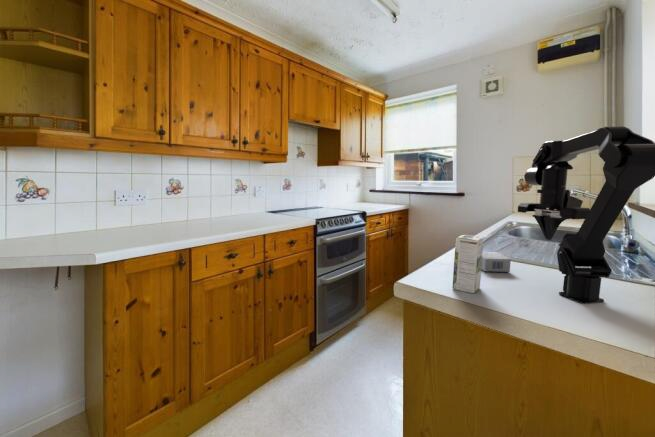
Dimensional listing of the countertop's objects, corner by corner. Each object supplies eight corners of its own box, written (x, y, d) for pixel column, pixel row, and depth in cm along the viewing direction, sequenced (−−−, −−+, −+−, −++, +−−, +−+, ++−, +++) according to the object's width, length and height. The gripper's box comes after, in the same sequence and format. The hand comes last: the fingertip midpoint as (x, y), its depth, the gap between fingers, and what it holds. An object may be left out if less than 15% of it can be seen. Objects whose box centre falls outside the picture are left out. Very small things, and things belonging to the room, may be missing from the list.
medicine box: (510, 272, 96) (497, 264, 105) (511, 258, 96) (498, 252, 104) (484, 271, 97) (474, 264, 106) (485, 258, 96) (474, 251, 105)
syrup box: (458, 283, 87) (460, 233, 85) (480, 288, 83) (484, 236, 82) (452, 289, 83) (454, 237, 81) (475, 294, 79) (478, 239, 77)
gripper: (612, 186, 79) (605, 245, 81) (548, 185, 97) (543, 233, 100) (576, 187, 77) (570, 247, 79) (518, 185, 95) (514, 234, 97)
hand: (548, 239), depth 89 cm, fingers closed
